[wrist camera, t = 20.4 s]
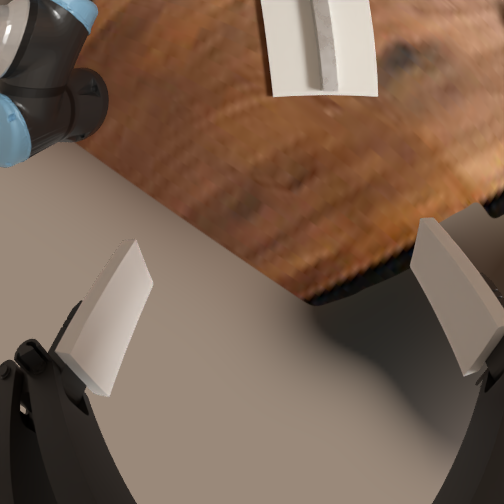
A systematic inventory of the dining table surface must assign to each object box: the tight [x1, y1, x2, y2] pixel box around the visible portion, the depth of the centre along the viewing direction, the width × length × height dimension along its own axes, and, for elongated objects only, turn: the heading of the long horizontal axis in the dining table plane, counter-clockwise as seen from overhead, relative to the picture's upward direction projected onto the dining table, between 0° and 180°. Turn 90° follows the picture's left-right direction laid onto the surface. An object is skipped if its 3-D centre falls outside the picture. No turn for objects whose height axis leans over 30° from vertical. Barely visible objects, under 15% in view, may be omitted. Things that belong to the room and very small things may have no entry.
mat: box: [261, 0, 378, 97], centre depth 33 cm, size 26×18×1 cm
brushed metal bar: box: [310, 0, 338, 91], centre depth 31 cm, size 24×6×4 cm, turn 7°
